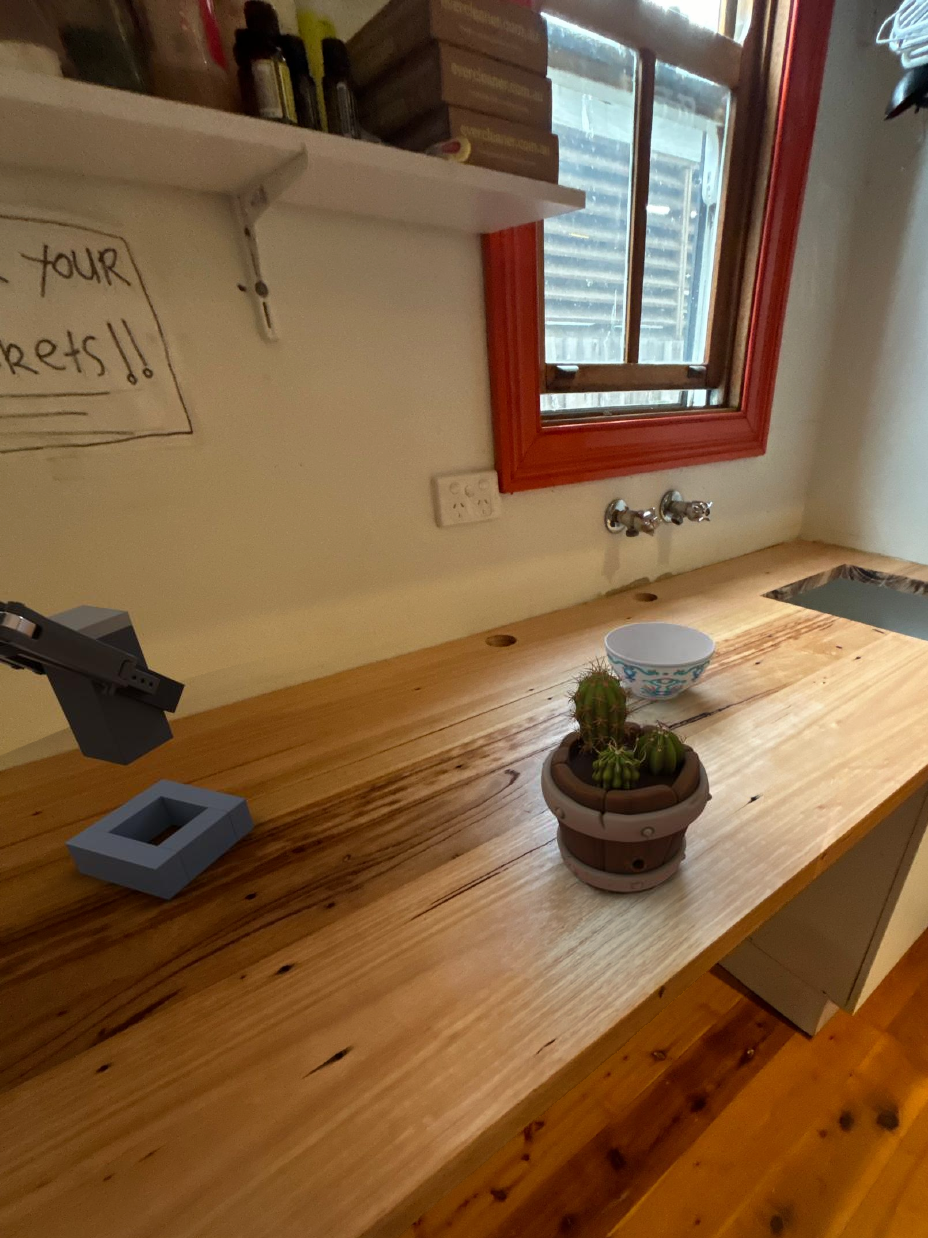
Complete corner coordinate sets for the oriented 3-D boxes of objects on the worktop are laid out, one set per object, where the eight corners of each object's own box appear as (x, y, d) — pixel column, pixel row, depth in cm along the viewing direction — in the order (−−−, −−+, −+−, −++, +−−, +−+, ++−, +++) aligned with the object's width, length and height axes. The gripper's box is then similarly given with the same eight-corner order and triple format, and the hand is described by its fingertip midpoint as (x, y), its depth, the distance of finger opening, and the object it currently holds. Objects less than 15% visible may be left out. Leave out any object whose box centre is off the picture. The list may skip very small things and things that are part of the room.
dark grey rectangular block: (126, 766, 54) (69, 632, 48) (83, 756, 55) (22, 625, 49) (174, 737, 58) (127, 610, 52) (132, 729, 59) (82, 604, 53)
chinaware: (697, 725, 83) (704, 671, 79) (588, 705, 88) (590, 654, 84) (716, 678, 95) (723, 629, 91) (620, 663, 100) (622, 616, 96)
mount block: (170, 902, 57) (155, 869, 55) (81, 875, 60) (64, 842, 58) (255, 829, 66) (245, 798, 63) (174, 809, 69) (162, 778, 67)
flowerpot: (732, 872, 59) (767, 678, 49) (600, 944, 52) (608, 734, 42) (633, 795, 70) (645, 622, 60) (512, 846, 63) (501, 660, 53)
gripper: (-309, 603, 38) (64, 718, 60) (-115, 638, 33) (217, 749, 55) (-248, 494, 40) (94, 644, 61) (-52, 510, 34) (245, 668, 56)
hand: (151, 693), depth 58 cm, fingers closed on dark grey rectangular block, 5 cm apart
